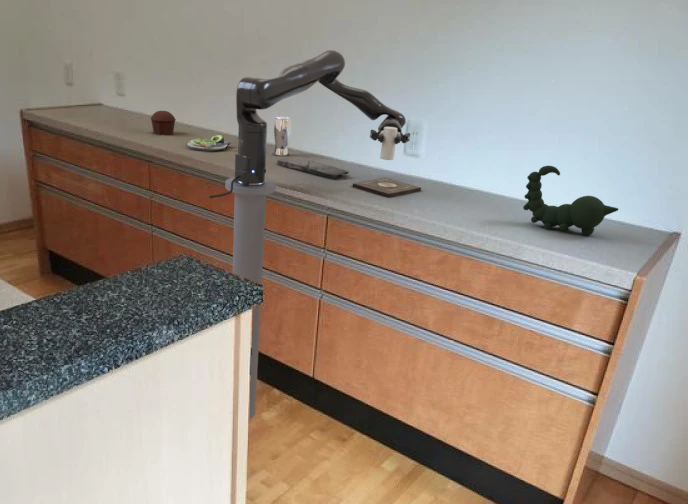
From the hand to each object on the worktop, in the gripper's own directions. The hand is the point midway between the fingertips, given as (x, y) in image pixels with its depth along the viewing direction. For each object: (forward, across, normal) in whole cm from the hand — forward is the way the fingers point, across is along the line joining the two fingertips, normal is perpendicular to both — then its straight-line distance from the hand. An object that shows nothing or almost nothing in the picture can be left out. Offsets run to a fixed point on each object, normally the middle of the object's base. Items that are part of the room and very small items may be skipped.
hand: (389, 140), depth 196 cm
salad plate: (-49, -76, +18) cm, 92 cm away
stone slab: (-25, -28, +18) cm, 42 cm away
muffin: (-71, -104, +19) cm, 128 cm away
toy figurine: (+20, +54, +18) cm, 60 cm away
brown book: (-8, +1, +18) cm, 20 cm away
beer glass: (-49, -44, +18) cm, 69 cm away
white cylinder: (-3, 0, +6) cm, 7 cm away
